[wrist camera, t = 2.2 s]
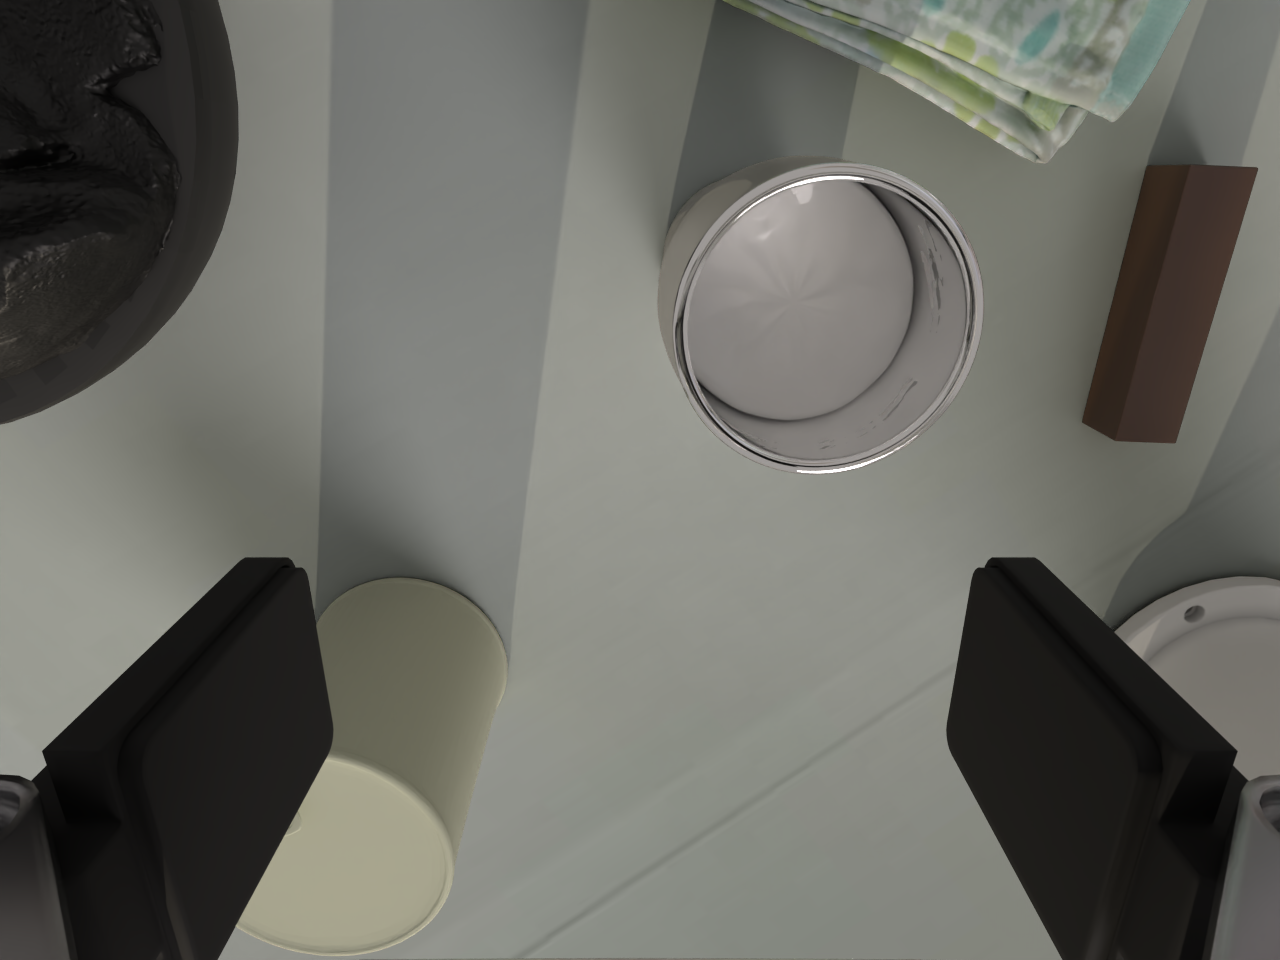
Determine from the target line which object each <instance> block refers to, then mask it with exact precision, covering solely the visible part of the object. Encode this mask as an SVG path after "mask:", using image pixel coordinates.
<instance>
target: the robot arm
mask: <svg viewBox="0 0 1280 960" xmlns="http://www.w3.org/2000/svg"><path fill="white" fill-rule="evenodd" d="M333 731H334V729H333V720H332V715H331V709H330V703H329V697H328V691H327V685H326V680H325V674H324V668H323V662H322V656H321V650H320V645H319V639H318V633H317V627H316V621H315V615H314V610H313V604H312V598H311V592H310V586H309V580H308V576H307V573H306V571H305V570H304V569H303V568H295V565H294V563H293V562H292V560H291V559H289V558H244V559H242V560H241V561H240V562H239V563H237V564H236V565H235V566H234V567H233V568H232V569H231V570H230V571H229V572H228V573H227V574H226V575H225V576H224V577H223V578H222V579H221V580H220V581H219V582H218V583H217V584H216V585H215V586H214V587H212V588H211V589H210V590H209V591H208V592H207V593H206V594H205V595H204V596H203V597H202V598H201V599H200V600H199V601H198V602H197V603H196V604H195V605H194V606H193V607H192V608H191V609H190V610H189V611H187V612H186V613H185V614H184V615H183V616H182V617H181V618H180V619H179V620H178V621H177V622H176V623H175V624H174V625H173V626H172V627H171V628H170V629H169V630H168V631H167V632H166V633H165V634H164V635H162V636H161V637H160V638H159V639H158V640H157V641H156V642H155V643H154V644H153V645H152V646H151V647H150V648H149V649H148V650H147V651H146V652H145V653H144V654H143V655H142V656H141V657H140V658H139V659H137V660H136V661H135V662H134V663H133V664H132V665H131V666H130V667H129V668H128V669H127V670H126V671H125V672H124V673H123V674H122V675H121V676H120V677H119V678H118V679H117V680H116V681H115V682H114V683H112V684H111V685H110V686H109V687H108V688H107V689H106V690H105V691H104V692H103V693H102V694H101V695H100V696H99V697H98V698H97V699H96V700H95V701H94V702H93V703H92V704H91V705H90V706H89V707H87V708H86V709H85V710H84V711H83V712H82V713H81V714H80V715H79V716H78V717H77V718H76V719H75V720H74V721H73V722H72V723H71V724H70V725H69V726H68V727H67V728H66V729H65V730H64V731H63V732H61V733H60V734H59V735H58V736H57V737H56V738H55V739H54V740H53V741H52V742H51V743H50V744H49V745H48V746H47V747H46V748H45V749H44V750H43V751H42V752H43V755H44V758H45V761H46V764H47V766H46V767H45V768H44V769H43V770H42V771H41V772H40V773H39V774H38V775H37V776H36V777H35V778H34V779H33V780H32V781H30V780H28V779H25V778H23V777H21V776H15V775H0V960H218V958H219V956H220V954H221V952H222V950H223V949H224V947H225V945H226V943H227V941H228V939H229V938H230V936H231V934H232V932H233V930H234V928H235V926H236V925H237V923H238V921H239V919H240V917H241V915H242V913H243V912H244V910H245V908H246V906H247V904H248V902H249V900H250V899H251V897H252V895H253V893H254V891H255V889H256V888H257V886H258V884H259V882H260V880H261V878H262V876H263V875H264V873H265V871H266V869H267V867H268V865H269V863H270V862H271V860H272V858H273V856H274V854H275V852H276V850H277V849H278V847H279V845H280V843H281V841H282V839H283V837H284V836H285V834H286V832H287V830H288V828H289V826H290V825H291V823H292V821H293V819H294V817H295V815H296V813H297V812H298V810H299V808H300V806H301V804H302V802H303V800H304V799H305V797H306V795H307V793H308V791H309V789H310V787H311V786H312V784H313V782H314V780H315V778H316V776H317V774H318V773H319V771H320V769H321V767H322V765H323V763H324V762H325V760H326V758H327V756H328V754H329V752H330V749H331V746H332V741H333ZM946 731H947V741H948V746H949V749H950V752H951V754H952V756H953V758H954V760H955V762H956V763H957V765H958V767H959V769H960V771H961V773H962V774H963V776H964V778H965V780H966V782H967V784H968V786H969V787H970V789H971V791H972V793H973V795H974V797H975V799H976V800H977V802H978V804H979V806H980V808H981V810H982V812H983V813H984V815H985V817H986V819H987V821H988V823H989V825H990V826H991V828H992V830H993V832H994V834H995V836H996V837H997V839H998V841H999V843H1000V845H1001V847H1002V849H1003V850H1004V852H1005V854H1006V856H1007V858H1008V860H1009V862H1010V863H1011V865H1012V867H1013V869H1014V871H1015V873H1016V875H1017V876H1018V878H1019V880H1020V882H1021V884H1022V886H1023V888H1024V889H1025V891H1026V893H1027V895H1028V897H1029V899H1030V900H1031V902H1032V904H1033V906H1034V908H1035V910H1036V912H1037V913H1038V915H1039V917H1040V919H1041V921H1042V923H1043V925H1044V926H1045V928H1046V930H1047V932H1048V934H1049V936H1050V938H1051V939H1052V941H1053V943H1054V945H1055V947H1056V949H1057V950H1058V952H1059V954H1060V956H1061V958H1062V960H1280V580H1276V579H1271V578H1267V577H1246V576H1237V577H1229V578H1221V579H1214V580H1209V581H1205V582H1202V583H1198V584H1195V585H1191V586H1188V587H1185V588H1182V589H1180V590H1178V591H1175V592H1173V593H1171V594H1169V595H1167V596H1164V597H1162V598H1160V599H1158V600H1156V601H1155V602H1153V603H1151V604H1150V605H1148V606H1147V607H1145V608H1144V609H1142V610H1141V611H1139V612H1137V613H1136V614H1134V615H1133V616H1132V617H1131V618H1130V619H1128V620H1127V621H1126V622H1125V623H1124V624H1123V625H1122V626H1120V627H1119V628H1118V629H1117V630H1116V631H1115V632H1113V631H1112V630H1111V629H1110V628H1109V627H1108V626H1107V625H1106V624H1105V623H1104V622H1103V621H1102V620H1101V619H1100V618H1099V617H1098V616H1097V615H1096V614H1095V613H1094V612H1093V611H1091V610H1090V609H1089V608H1088V607H1087V606H1086V605H1085V604H1084V603H1083V602H1082V601H1081V600H1080V599H1079V598H1078V597H1077V596H1076V595H1075V594H1074V593H1073V592H1072V591H1071V590H1070V589H1069V588H1068V587H1066V586H1065V585H1064V584H1063V583H1062V582H1061V581H1060V580H1059V579H1058V578H1057V577H1056V576H1055V575H1054V574H1053V573H1052V572H1051V571H1050V570H1049V569H1048V568H1047V567H1046V566H1045V565H1044V564H1043V563H1041V562H1040V561H1039V560H1038V559H1036V558H991V559H989V560H988V562H987V563H986V565H985V568H977V569H976V570H975V571H974V573H973V576H972V580H971V586H970V592H969V598H968V604H967V610H966V615H965V621H964V627H963V633H962V639H961V645H960V650H959V656H958V662H957V668H956V674H955V680H954V685H953V691H952V697H951V703H950V709H949V715H948V720H947V729H946ZM361 960H919V959H735V958H545V959H361Z"/></svg>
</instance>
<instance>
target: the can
mask: <svg viewBox="0 0 1280 960" xmlns="http://www.w3.org/2000/svg"><path fill="white" fill-rule="evenodd" d="M316 627H317V633H318V639H319V645H320V650H321V656H322V662H323V668H324V674H325V680H326V685H327V691H328V697H329V703H330V709H331V715H332V720H333V729H334V731H333V741H332V746H331V749H330V752H329V754H328V756H327V758H326V760H325V762H324V763H323V765H322V767H321V769H320V771H319V773H318V774H317V776H316V778H315V780H314V782H313V784H312V786H311V787H310V789H309V791H308V793H307V795H306V797H305V799H304V800H303V802H302V804H301V806H300V808H299V810H298V812H297V813H296V815H295V817H294V819H293V821H292V823H291V825H290V826H289V828H288V830H287V832H286V834H285V836H284V837H283V839H282V841H281V843H280V845H279V847H278V849H277V850H276V852H275V854H274V856H273V858H272V860H271V862H270V863H269V865H268V867H267V869H266V871H265V873H264V875H263V876H262V878H261V880H260V882H259V884H258V886H257V888H256V889H255V891H254V893H253V895H252V897H251V899H250V900H249V902H248V904H247V906H246V908H245V910H244V912H243V913H242V915H241V917H240V919H239V921H238V923H237V925H236V927H237V928H239V929H241V930H242V931H244V932H246V933H248V934H250V935H252V936H253V937H255V938H257V939H260V940H262V941H264V942H267V943H269V944H272V945H275V946H278V947H281V948H284V949H288V950H292V951H296V952H300V953H307V954H314V955H323V956H348V955H358V954H365V953H370V952H374V951H378V950H382V949H385V948H388V947H390V946H393V945H395V944H398V943H400V942H402V941H404V940H406V939H407V938H409V937H411V936H413V935H414V934H416V933H417V932H418V931H420V930H421V929H422V928H424V927H425V926H426V925H427V924H428V923H429V922H430V921H431V920H432V919H433V918H434V917H435V916H436V914H437V913H438V912H439V910H440V909H441V907H442V906H443V904H444V903H445V901H446V899H447V897H448V894H449V892H450V889H451V886H452V882H453V877H454V869H455V862H456V857H457V853H458V849H459V845H460V841H461V837H462V833H463V829H464V825H465V821H466V817H467V813H468V809H469V805H470V801H471V798H472V794H473V790H474V786H475V783H476V779H477V775H478V772H479V768H480V764H481V760H482V757H483V753H484V749H485V746H486V742H487V738H488V735H489V731H490V727H491V724H492V721H493V717H494V714H495V711H496V708H497V706H498V705H499V703H500V701H501V699H502V696H503V694H504V691H505V687H506V682H507V670H508V666H507V657H506V652H505V649H504V646H503V643H502V640H501V638H500V636H499V634H498V632H497V630H496V629H495V627H494V626H493V624H492V623H491V621H490V620H489V619H488V617H487V616H486V615H485V614H484V613H483V612H482V611H481V610H480V609H479V608H478V607H477V606H475V605H474V604H473V603H472V602H471V601H469V600H468V599H467V598H465V597H464V596H462V595H460V594H459V593H457V592H455V591H453V590H451V589H449V588H447V587H444V586H442V585H439V584H436V583H433V582H429V581H425V580H420V579H413V578H386V579H379V580H374V581H370V582H367V583H364V584H361V585H359V586H357V587H354V588H352V589H350V590H349V591H347V592H345V593H344V594H342V595H341V596H340V597H338V598H337V599H336V600H334V601H333V602H332V603H331V604H330V605H329V606H328V608H327V609H326V610H325V611H324V613H323V614H322V615H321V617H320V619H319V620H318V622H317V624H316Z"/></svg>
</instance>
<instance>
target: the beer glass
mask: <svg viewBox="0 0 1280 960" xmlns="http://www.w3.org/2000/svg"><path fill="white" fill-rule="evenodd" d="M657 305H658V319H659V325H660V331H661V335H662V339H663V342H664V345H665V349H666V352H667V355H668V358H669V360H670V363H671V365H672V367H673V369H674V371H675V373H676V375H677V377H678V379H679V381H680V383H681V385H682V387H683V390H684V392H685V394H686V396H687V398H688V400H689V402H690V404H691V405H692V407H693V409H694V410H695V412H696V413H697V415H698V416H699V417H700V419H701V420H702V421H703V423H704V424H705V425H706V426H707V427H708V428H709V430H710V431H711V432H712V433H713V434H714V435H715V436H716V437H717V438H719V439H720V440H721V441H722V442H723V443H725V444H726V445H727V446H728V447H730V448H731V449H733V450H734V451H736V452H737V453H739V454H741V455H742V456H744V457H746V458H748V459H750V460H752V461H754V462H756V463H759V464H761V465H764V466H767V467H770V468H773V469H776V470H781V471H785V472H790V473H798V474H832V473H839V472H845V471H850V470H854V469H858V468H861V467H864V466H867V465H870V464H873V463H875V462H878V461H880V460H882V459H884V458H887V457H889V456H890V455H892V454H894V453H896V452H898V451H899V450H901V449H903V448H904V447H906V446H907V445H909V444H910V443H912V442H913V441H914V440H916V439H917V438H918V437H919V436H921V435H922V434H923V433H924V432H925V431H926V430H928V429H929V428H930V427H931V426H932V425H933V424H934V423H935V422H936V421H937V420H938V419H939V418H940V416H941V415H942V414H943V413H944V412H945V411H946V409H947V408H948V407H949V405H950V404H951V403H952V401H953V400H954V399H955V397H956V395H957V394H958V392H959V391H960V389H961V387H962V386H963V384H964V382H965V380H966V378H967V376H968V374H969V372H970V369H971V367H972V364H973V362H974V359H975V356H976V353H977V350H978V346H979V342H980V338H981V333H982V326H983V317H984V294H983V284H982V278H981V273H980V269H979V265H978V261H977V258H976V255H975V252H974V250H973V248H972V245H971V243H970V241H969V239H968V237H967V235H966V233H965V231H964V230H963V228H962V227H961V225H960V223H959V222H958V221H957V219H956V218H955V217H954V215H953V214H952V213H951V212H950V210H949V209H948V208H947V207H946V206H945V205H944V204H943V203H942V202H941V201H940V200H939V199H938V198H937V197H935V196H934V195H933V194H932V193H931V192H929V191H928V190H927V189H925V188H924V187H923V186H921V185H919V184H918V183H916V182H915V181H913V180H911V179H909V178H907V177H905V176H903V175H901V174H899V173H896V172H894V171H891V170H888V169H885V168H881V167H878V166H873V165H868V164H862V163H856V162H852V161H848V160H843V159H839V158H833V157H825V156H786V157H779V158H774V159H770V160H766V161H762V162H759V163H756V164H753V165H751V166H748V167H745V168H743V169H741V170H738V171H736V172H734V173H732V174H730V175H729V176H727V177H725V178H723V179H722V180H719V181H716V182H714V183H711V184H709V185H708V186H706V187H704V188H702V189H701V190H699V191H698V192H697V193H695V194H694V195H693V196H692V197H691V198H690V199H689V200H688V201H687V202H686V203H685V204H684V205H683V206H682V207H681V209H680V210H679V211H678V213H677V214H676V216H675V218H674V220H673V221H672V223H671V226H670V228H669V230H668V233H667V236H666V240H665V244H664V250H663V261H662V264H661V269H660V275H659V283H658V299H657Z"/></svg>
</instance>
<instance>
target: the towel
mask: <svg viewBox="0 0 1280 960" xmlns="http://www.w3.org/2000/svg"><path fill="white" fill-rule="evenodd" d="M722 1H725V2H727V3H729V4H730V5H732V6H734V7H736V8H739V9H742V10H744V11H746V12H748V13H750V14H752V15H755V16H757V17H759V18H761V19H763V20H765V21H767V22H769V23H771V24H772V25H774V26H777V27H779V28H781V29H783V30H786V31H789V32H791V33H793V34H795V35H797V36H800V37H802V38H804V39H806V40H808V41H810V42H813V43H815V44H817V45H819V46H822V47H824V48H826V49H828V50H831V51H833V52H835V53H837V54H840V55H842V56H844V57H846V58H848V59H850V60H852V61H854V62H857V63H859V64H861V65H863V66H866V67H868V68H870V69H872V70H874V71H876V72H878V73H880V74H883V75H886V76H888V77H890V78H892V79H893V80H895V81H896V82H898V83H900V84H901V85H903V86H905V87H907V88H908V89H910V90H912V91H914V92H915V93H917V94H919V95H921V96H923V97H924V98H926V99H927V100H929V101H931V102H933V103H934V104H936V105H937V106H939V107H940V108H942V109H944V110H945V111H947V112H949V113H951V114H952V115H954V116H955V117H957V118H959V119H960V120H962V121H963V122H965V123H966V124H968V125H969V126H971V127H972V128H974V129H976V130H978V131H980V132H981V133H983V134H985V135H987V136H988V137H990V138H991V139H993V140H994V141H996V142H998V143H999V144H1001V145H1003V146H1005V147H1006V148H1008V149H1010V150H1011V151H1013V152H1014V153H1016V154H1018V155H1020V156H1022V157H1024V158H1026V159H1028V160H1030V161H1032V162H1034V163H1044V164H1046V163H1047V162H1049V161H1050V159H1051V158H1052V157H1053V156H1054V154H1055V153H1056V151H1057V150H1058V149H1059V148H1060V147H1062V146H1063V145H1065V144H1066V143H1067V142H1068V141H1069V139H1070V138H1071V137H1072V136H1073V134H1074V133H1075V132H1076V130H1077V128H1078V127H1079V126H1080V125H1081V123H1082V122H1083V121H1084V119H1085V118H1086V116H1087V114H1088V113H1089V112H1091V113H1093V114H1095V115H1098V116H1101V117H1103V118H1105V119H1106V120H1108V121H1109V122H1114V121H1116V120H1117V119H1118V118H1119V117H1120V116H1122V114H1123V113H1124V112H1125V111H1126V110H1127V109H1128V108H1129V106H1130V105H1131V104H1132V103H1133V101H1134V99H1135V98H1136V96H1137V95H1138V93H1139V91H1140V90H1141V88H1142V87H1143V85H1144V84H1145V82H1146V81H1147V79H1148V77H1149V76H1150V74H1151V73H1152V71H1153V69H1154V67H1155V66H1156V64H1157V62H1158V61H1159V59H1160V57H1161V55H1162V53H1163V51H1164V49H1165V48H1166V46H1167V44H1168V42H1169V40H1170V38H1171V36H1172V34H1173V32H1174V30H1175V28H1176V27H1177V25H1178V23H1179V21H1180V19H1181V17H1182V15H1183V14H1184V12H1185V10H1186V8H1187V6H1188V4H1189V2H1190V1H1191V0H722Z"/></svg>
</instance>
